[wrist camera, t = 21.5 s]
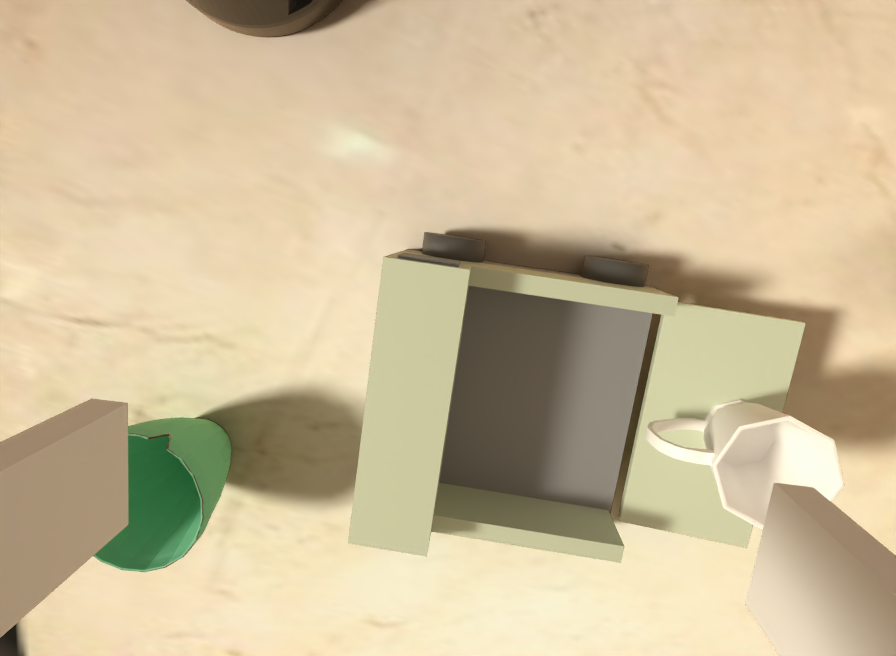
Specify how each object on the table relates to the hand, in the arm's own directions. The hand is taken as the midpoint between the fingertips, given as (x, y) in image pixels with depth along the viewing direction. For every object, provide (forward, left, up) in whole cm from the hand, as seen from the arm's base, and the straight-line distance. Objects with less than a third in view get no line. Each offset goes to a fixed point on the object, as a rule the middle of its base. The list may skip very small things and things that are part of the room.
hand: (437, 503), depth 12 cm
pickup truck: (+6, +4, -33) cm, 34 cm away
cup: (+6, +18, -29) cm, 35 cm away
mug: (+16, -22, -33) cm, 43 cm away
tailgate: (+6, +13, -30) cm, 33 cm away
